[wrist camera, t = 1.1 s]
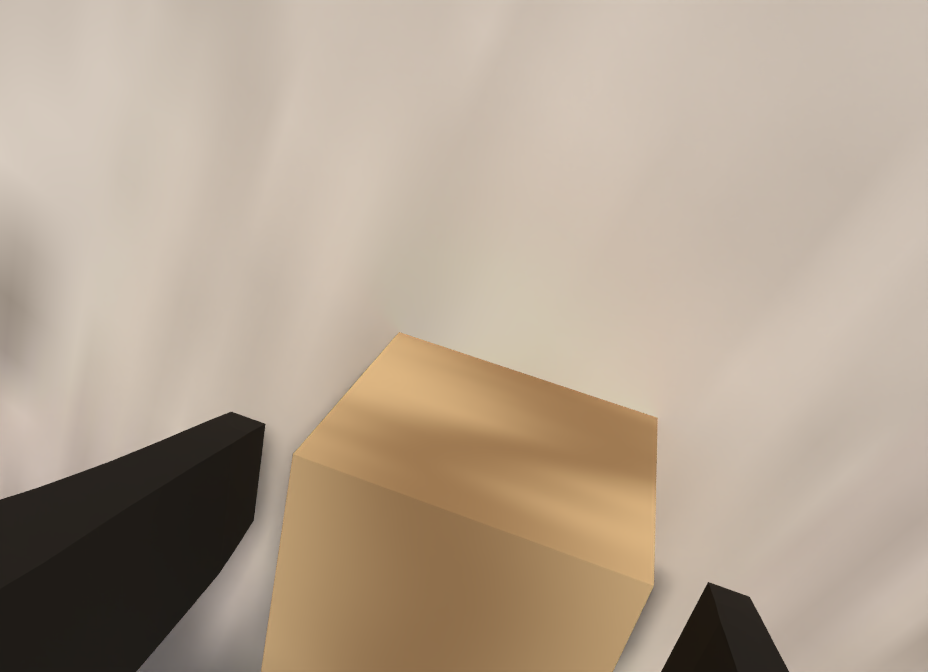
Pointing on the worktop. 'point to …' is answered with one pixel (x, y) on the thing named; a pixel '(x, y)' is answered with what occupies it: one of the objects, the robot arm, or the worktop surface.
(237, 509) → the robot arm
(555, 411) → the oak block
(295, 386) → the worktop surface
